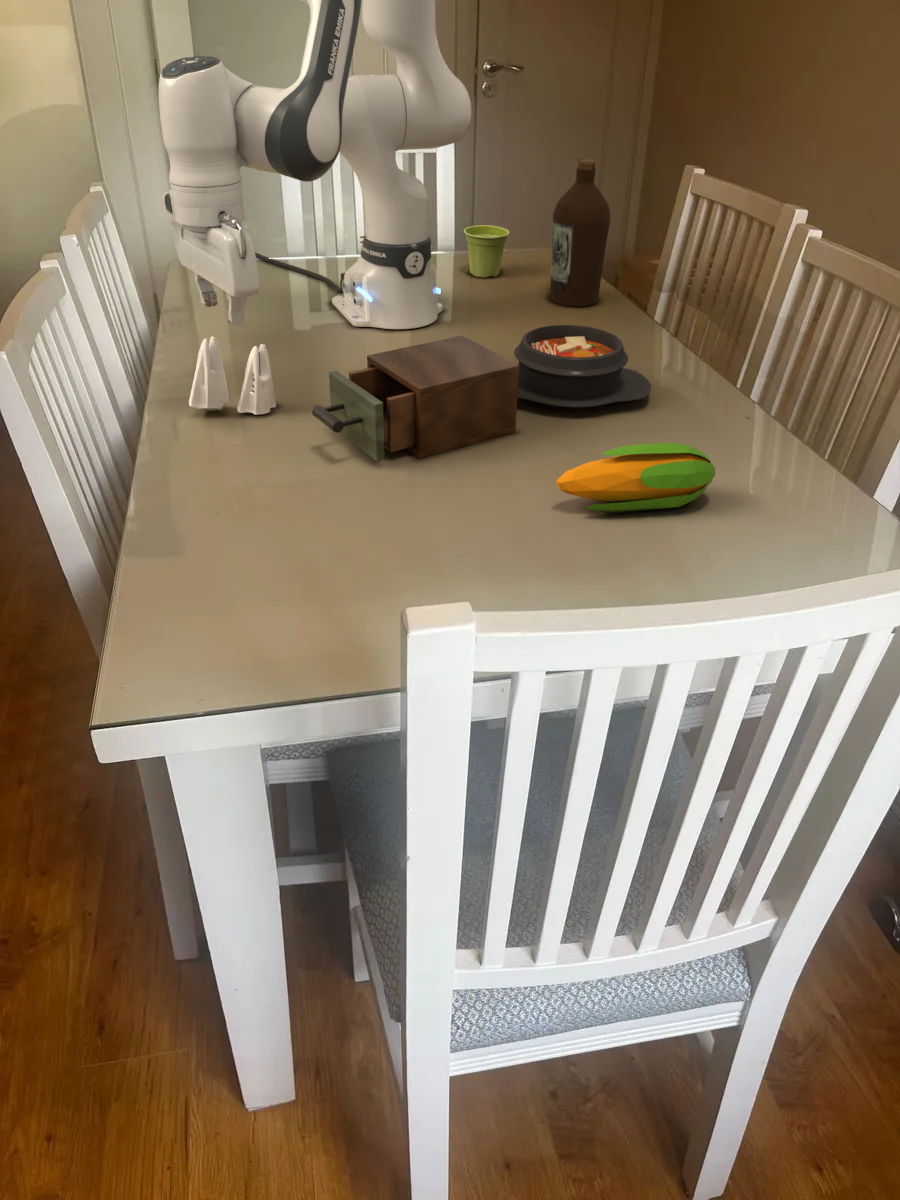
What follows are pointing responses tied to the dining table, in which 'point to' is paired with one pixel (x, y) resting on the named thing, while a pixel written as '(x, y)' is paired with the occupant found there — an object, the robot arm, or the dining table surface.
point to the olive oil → (579, 240)
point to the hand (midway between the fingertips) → (222, 314)
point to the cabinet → (454, 392)
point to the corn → (641, 477)
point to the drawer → (370, 411)
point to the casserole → (576, 368)
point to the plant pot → (485, 249)
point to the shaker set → (213, 387)
